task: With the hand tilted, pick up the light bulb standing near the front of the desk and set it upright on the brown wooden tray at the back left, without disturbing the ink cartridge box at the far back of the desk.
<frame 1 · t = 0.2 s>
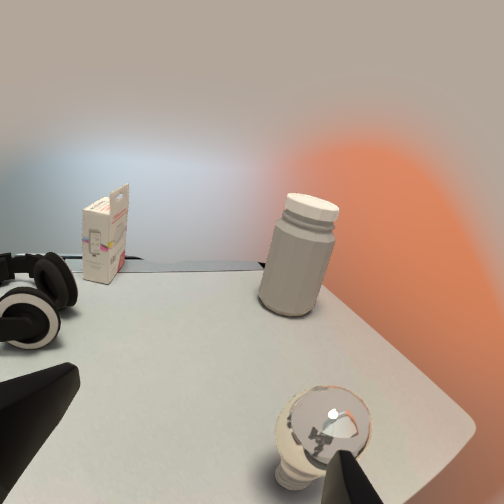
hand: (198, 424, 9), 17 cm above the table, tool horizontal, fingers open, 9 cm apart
light bulb: (288, 482, 22), on the table
headphones: (12, 314, 33), on the table
ink cartridge box: (104, 272, 50), on the table
jar: (284, 304, 53), on the table
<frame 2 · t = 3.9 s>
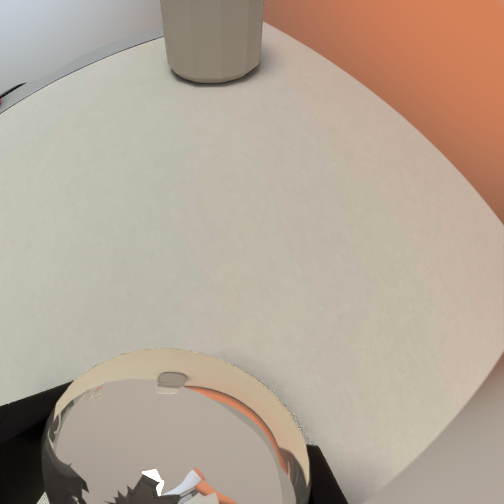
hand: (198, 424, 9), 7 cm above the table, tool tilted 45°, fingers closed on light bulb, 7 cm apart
light bulb: (206, 440, 14), on the table, touching gripper
jar: (214, 66, 29), on the table
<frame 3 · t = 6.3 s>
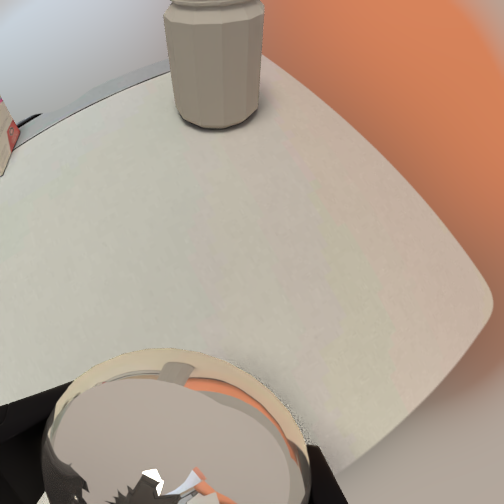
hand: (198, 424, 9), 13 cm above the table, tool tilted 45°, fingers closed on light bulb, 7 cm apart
light bulb: (206, 440, 14), point 6 cm above the table, touching gripper
ink cartridge box: (0, 158, 32), on the table
jar: (217, 109, 35), on the table
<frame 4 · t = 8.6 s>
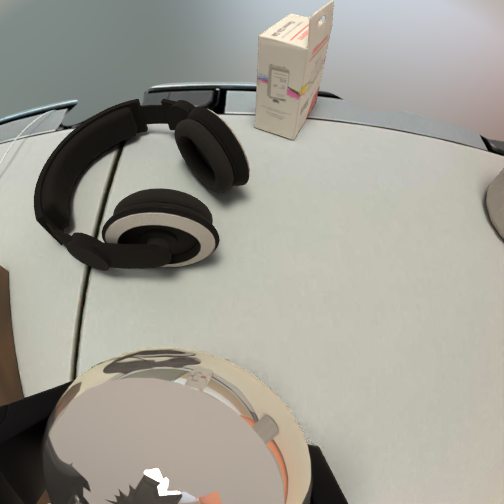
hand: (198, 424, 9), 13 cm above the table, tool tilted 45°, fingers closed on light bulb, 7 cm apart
light bulb: (206, 439, 14), point 7 cm above the table, touching gripper
headphones: (141, 195, 29), on the table
ink cartridge box: (286, 115, 35), on the table
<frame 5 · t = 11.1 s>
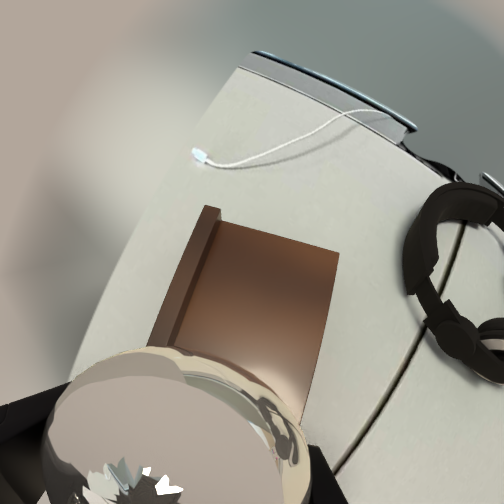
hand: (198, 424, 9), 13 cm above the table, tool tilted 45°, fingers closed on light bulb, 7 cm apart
light bulb: (206, 439, 14), point 6 cm above the table, touching gripper
brown wooden tray: (227, 389, 21), on the table
headphones: (474, 290, 26), on the table
when the fingers open (11 cm above the table, at t = 13.2 s): light bulb stays where it is, resting on brown wooden tray.
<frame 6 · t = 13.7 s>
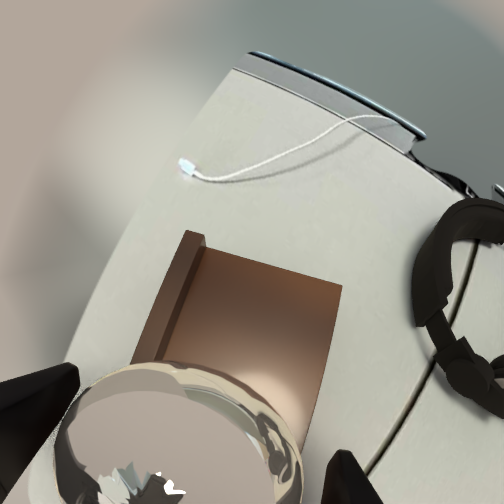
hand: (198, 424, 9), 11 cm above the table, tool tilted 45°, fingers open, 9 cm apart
light bulb: (206, 442, 15), point 4 cm above the table, touching brown wooden tray
brown wooden tray: (213, 434, 18), on the table
headphones: (487, 317, 22), on the table
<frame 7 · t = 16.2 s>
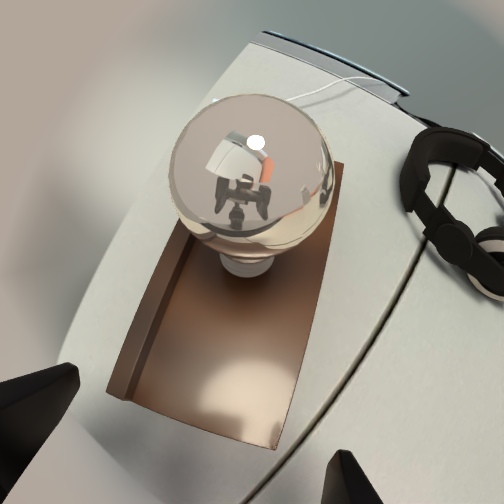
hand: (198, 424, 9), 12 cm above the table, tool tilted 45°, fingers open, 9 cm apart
light bulb: (246, 263, 21), point 4 cm above the table, touching brown wooden tray
brown wooden tray: (246, 283, 24), on the table
headphones: (468, 220, 29), on the table
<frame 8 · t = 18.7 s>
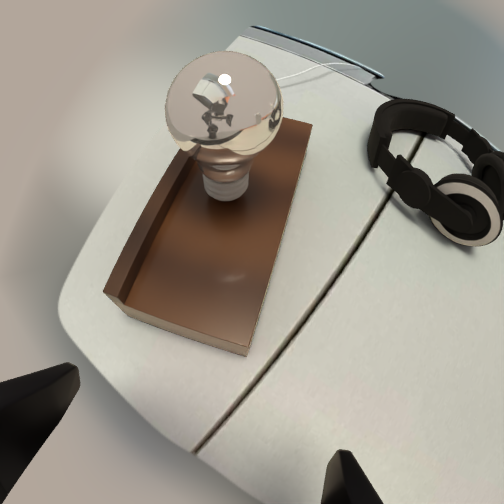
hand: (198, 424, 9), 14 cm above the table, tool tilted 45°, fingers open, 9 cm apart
light bulb: (226, 195, 25), point 4 cm above the table, touching brown wooden tray
brown wooden tray: (228, 220, 28), on the table
headphones: (434, 179, 33), on the table
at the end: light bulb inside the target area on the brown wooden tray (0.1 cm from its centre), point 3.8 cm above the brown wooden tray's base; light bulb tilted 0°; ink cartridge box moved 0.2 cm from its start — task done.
